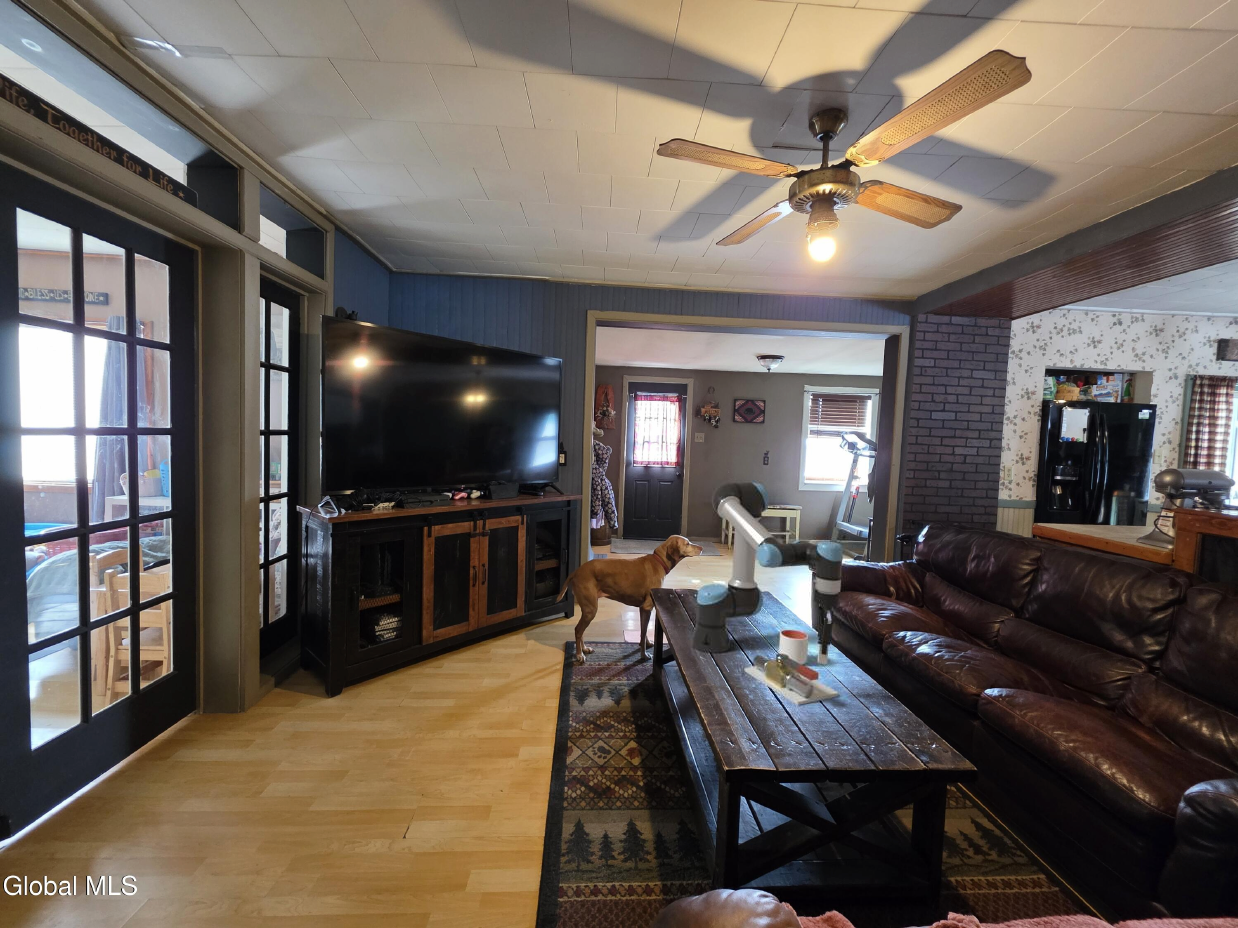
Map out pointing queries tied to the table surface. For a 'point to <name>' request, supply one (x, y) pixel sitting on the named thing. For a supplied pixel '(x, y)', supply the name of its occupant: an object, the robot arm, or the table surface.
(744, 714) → the table surface
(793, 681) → the valve
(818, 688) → the board
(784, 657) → the lever
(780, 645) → the cup
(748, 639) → the table surface
